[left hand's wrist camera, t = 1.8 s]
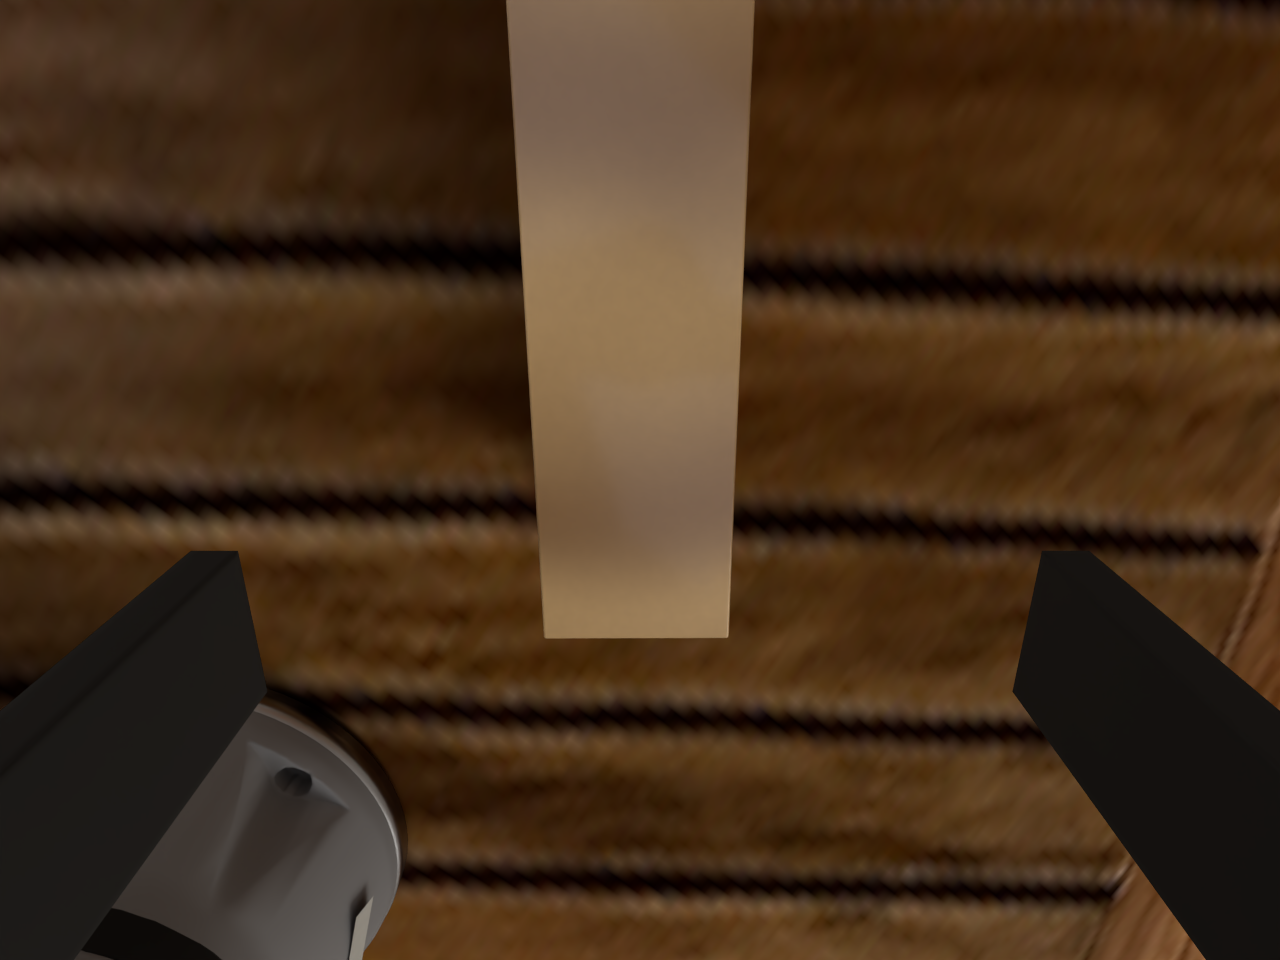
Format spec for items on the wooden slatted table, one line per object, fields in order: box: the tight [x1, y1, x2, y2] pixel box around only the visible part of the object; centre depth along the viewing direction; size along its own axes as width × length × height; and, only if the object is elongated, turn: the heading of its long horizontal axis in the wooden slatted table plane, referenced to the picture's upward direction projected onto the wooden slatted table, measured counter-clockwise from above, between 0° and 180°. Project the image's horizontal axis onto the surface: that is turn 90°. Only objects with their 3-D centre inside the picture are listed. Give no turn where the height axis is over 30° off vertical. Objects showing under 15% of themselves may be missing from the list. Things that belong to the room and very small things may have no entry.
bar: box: [506, 0, 755, 638], centre depth 19 cm, size 25×5×8 cm, turn 0°
